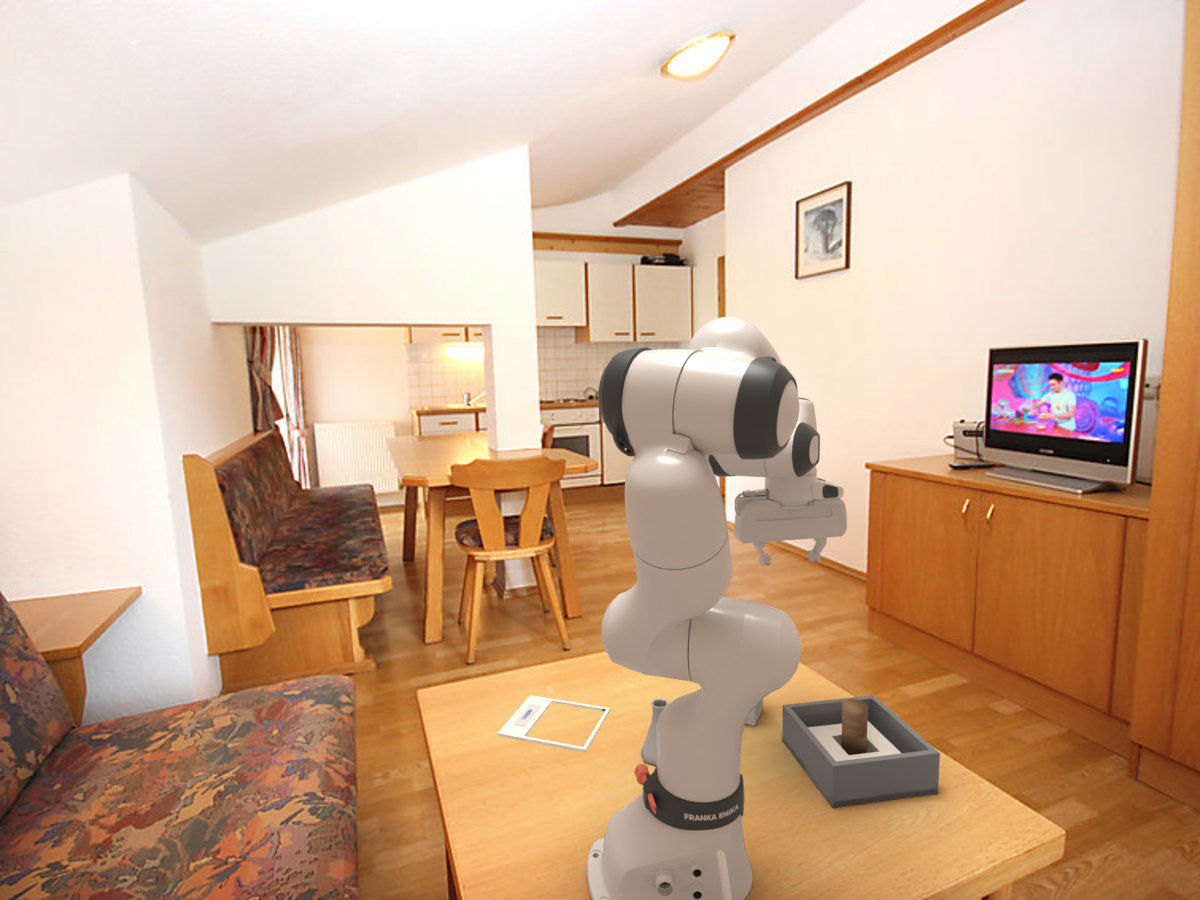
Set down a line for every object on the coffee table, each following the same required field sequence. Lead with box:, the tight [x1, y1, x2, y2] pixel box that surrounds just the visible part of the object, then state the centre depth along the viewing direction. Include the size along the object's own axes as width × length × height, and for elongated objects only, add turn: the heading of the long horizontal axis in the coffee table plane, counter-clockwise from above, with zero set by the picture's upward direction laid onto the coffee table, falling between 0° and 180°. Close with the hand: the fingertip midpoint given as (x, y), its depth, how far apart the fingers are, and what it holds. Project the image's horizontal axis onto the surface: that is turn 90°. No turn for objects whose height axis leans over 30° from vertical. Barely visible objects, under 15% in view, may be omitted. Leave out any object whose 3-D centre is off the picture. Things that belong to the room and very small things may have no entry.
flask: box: [640, 697, 670, 767], centre depth 110 cm, size 7×7×10 cm
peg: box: [841, 699, 868, 755], centre depth 105 cm, size 4×4×10 cm
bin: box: [781, 694, 941, 809], centre depth 105 cm, size 18×18×7 cm
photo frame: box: [496, 694, 611, 753], centre depth 121 cm, size 15×1×18 cm
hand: (789, 562), depth 112 cm, fingers open, 8 cm apart
